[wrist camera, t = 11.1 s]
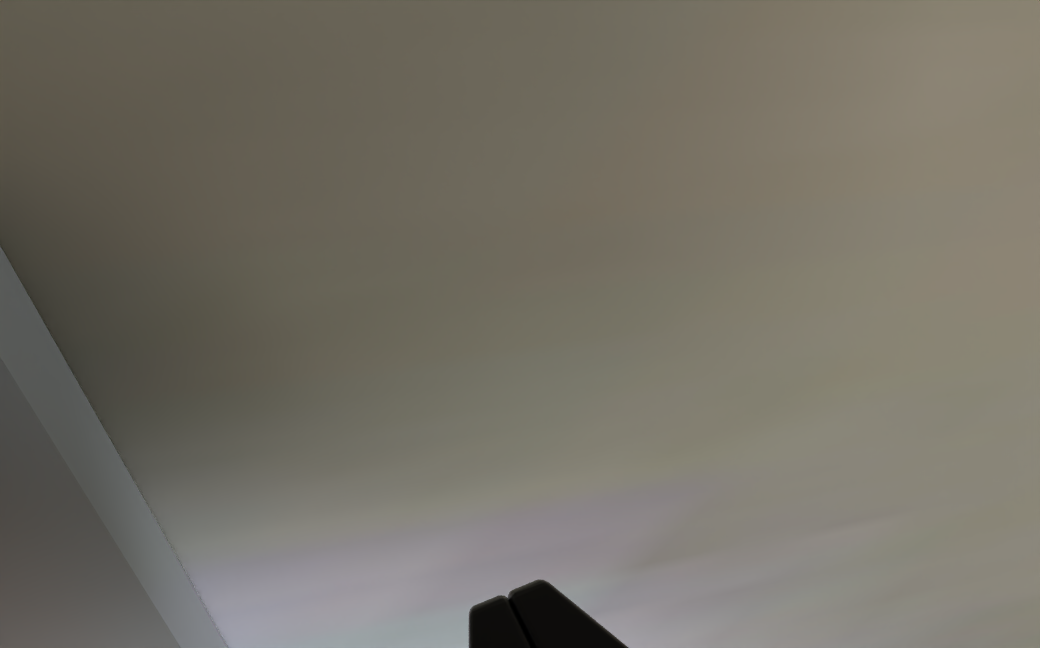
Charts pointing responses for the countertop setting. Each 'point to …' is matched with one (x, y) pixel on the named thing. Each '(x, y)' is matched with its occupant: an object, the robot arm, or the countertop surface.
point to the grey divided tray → (76, 513)
